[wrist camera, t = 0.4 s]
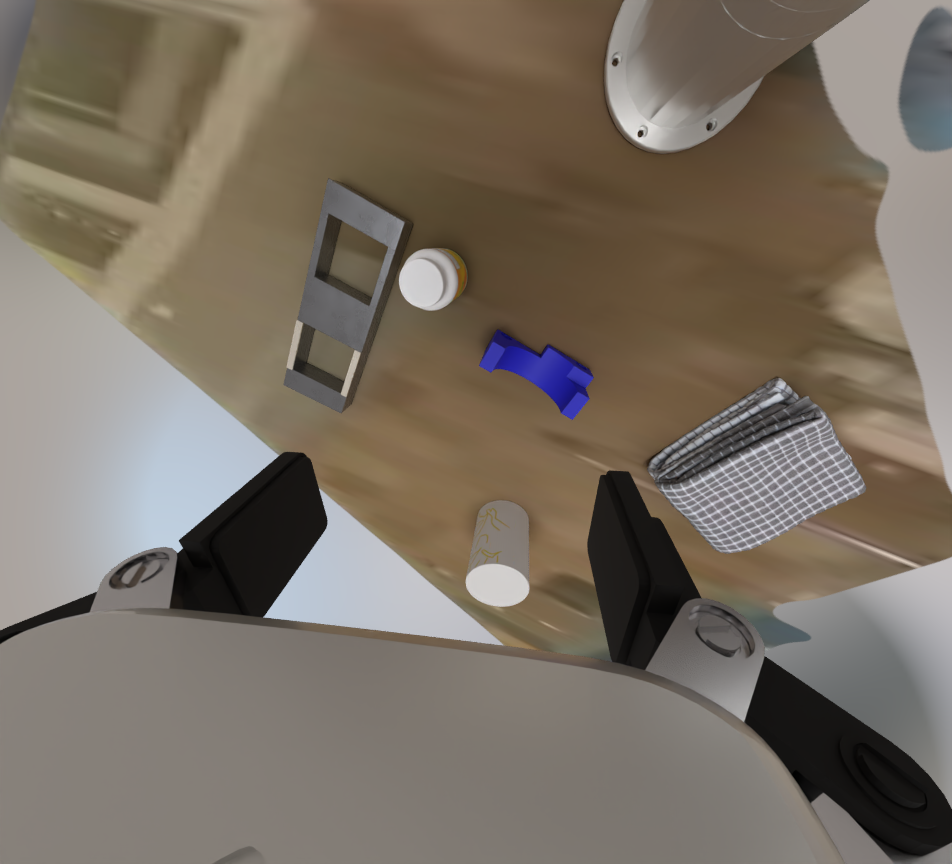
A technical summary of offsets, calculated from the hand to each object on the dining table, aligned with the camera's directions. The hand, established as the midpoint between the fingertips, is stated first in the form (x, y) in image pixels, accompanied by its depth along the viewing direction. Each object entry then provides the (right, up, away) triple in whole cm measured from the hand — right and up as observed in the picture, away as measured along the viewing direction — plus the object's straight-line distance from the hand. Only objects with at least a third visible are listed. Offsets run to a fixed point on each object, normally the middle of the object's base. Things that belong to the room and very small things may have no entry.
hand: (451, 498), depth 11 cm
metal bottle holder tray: (-15, +17, +30) cm, 38 cm away
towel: (+34, -1, +34) cm, 48 cm away
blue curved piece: (+8, +11, +31) cm, 34 cm away
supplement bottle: (-3, +20, +27) cm, 34 cm away
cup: (+5, -12, +43) cm, 45 cm away
